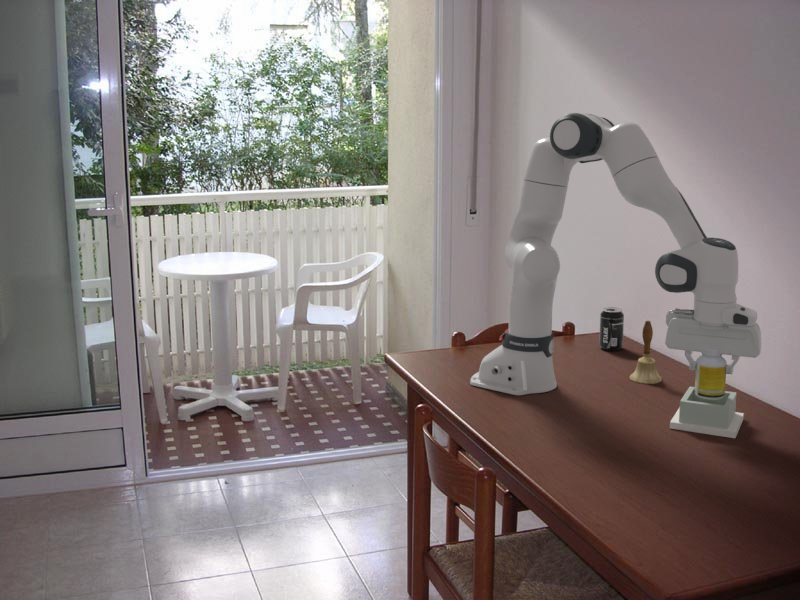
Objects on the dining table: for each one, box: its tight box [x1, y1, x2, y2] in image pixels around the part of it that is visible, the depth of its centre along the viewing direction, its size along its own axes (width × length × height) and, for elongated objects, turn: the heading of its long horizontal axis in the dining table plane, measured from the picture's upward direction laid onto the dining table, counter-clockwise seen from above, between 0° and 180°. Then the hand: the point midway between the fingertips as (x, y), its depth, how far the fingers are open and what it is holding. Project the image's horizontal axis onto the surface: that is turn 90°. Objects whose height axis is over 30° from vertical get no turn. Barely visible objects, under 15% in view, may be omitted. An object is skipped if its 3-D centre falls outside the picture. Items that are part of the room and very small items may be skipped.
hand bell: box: [629, 320, 663, 385], centre depth 231 cm, size 8×8×16 cm
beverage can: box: [598, 306, 625, 352], centre depth 261 cm, size 7×7×12 cm
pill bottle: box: [694, 349, 728, 400], centre depth 198 cm, size 6×6×12 cm
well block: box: [669, 386, 745, 439], centre depth 200 cm, size 14×13×6 cm
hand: (711, 371), depth 198 cm, fingers closed on pill bottle, 6 cm apart
